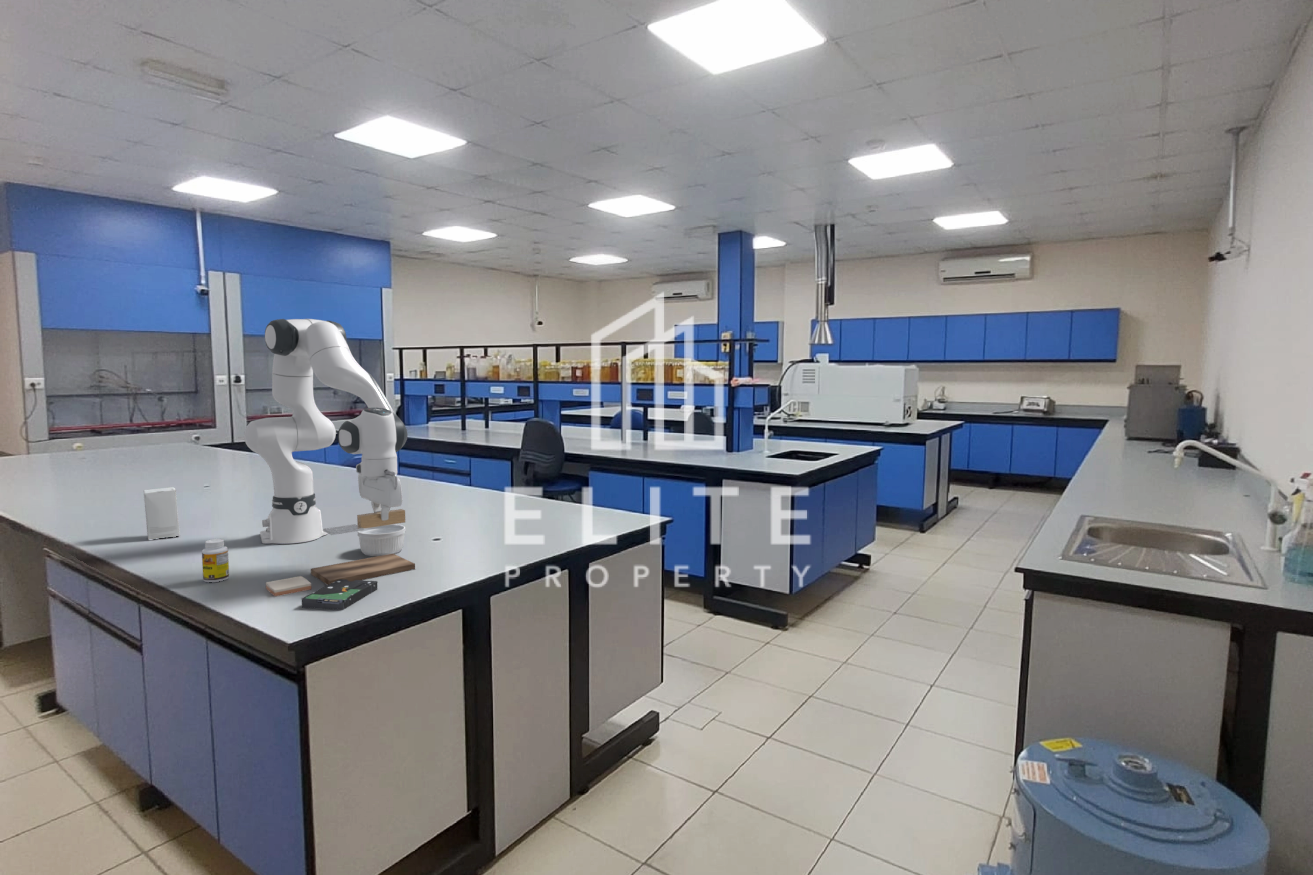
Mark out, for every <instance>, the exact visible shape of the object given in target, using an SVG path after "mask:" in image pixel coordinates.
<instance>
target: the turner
mask: <svg viewBox="0 0 1313 875" xmlns="http://www.w3.org/2000/svg"><path fill="white" fill-rule="evenodd" d="M380 513H381V512H376V513H374V512H371V513H362V514H357V515H356V516H357V519H356V520H357V521H356V522H357V524H347V525H342V526H341V525H340V526H334V527H333V526H332V527H327V528H322V530H323V531H324V532H326V533H327V535H328V534H329V535H330V536H334V535H342V534H348V533H354V532H358V531H362V530H364V529H365V528H372V527H378V526H385V525H391V524H397V525H399V524H403V523H406V509H403V508H399V509H392V510H389V513H388V520H381V519H380Z"/></svg>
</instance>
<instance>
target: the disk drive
mask: <svg viewBox="0 0 1313 875" xmlns="http://www.w3.org/2000/svg"><path fill="white" fill-rule="evenodd" d="M377 590H378V581H377V580H365V579H364V580H355V581H348V580H347V579H339V580H336V581H334V582H333V583H331V584H329V585H327V584H326V585H325V586H323V587H321V588H318V589H317V590H315V591H312V592H311V593H309V594H307V595H306V596H303V597H301V608H303V609H319V610H321V609H322V610H333V611H334V610H335V611H336V610H337V611H345V609H347V608H349V607H351V606H352V605H354V604H356V603H358V602H360V601H361V600H362V599H364V598H366V597H367V596H369V595H371V594H373V593H374V592H376V591H377Z"/></svg>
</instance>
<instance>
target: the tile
mask: <svg viewBox="0 0 1313 875" xmlns="http://www.w3.org/2000/svg"><path fill="white" fill-rule="evenodd" d="M265 589H266V590H267V591H268V592H269V593H271V595H273V597H279V596H284V595H290V594H295V593H299V592H304V591H309V590H312V583H311V582H310V581H309V580H308V579H307V578H305V577H303V576H301V575H299V576H298V575H297V576H294V577H292V576H291V577H289V578H283V579H277V580H272V581H266V582H265Z"/></svg>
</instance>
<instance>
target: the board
mask: <svg viewBox="0 0 1313 875" xmlns="http://www.w3.org/2000/svg"><path fill="white" fill-rule="evenodd" d="M411 569H413V570H416V563H414V562H413V561H410V560H409V559H406V558H403V557H401V556H399V555H397V554H396V553H395V554H388V555H382V556H370V557H366V558H362V559H357V560H351V561H346V562H345V561H344V562H340V563H334V564H329V565H323V566H318V567H313V568H310V575H311V576H313V577H314V578H316V579H317V580H319V581H321V582H322V583H324V584H325V585H326V586H327V585H329V584H331V583H333V582H334V581H336V580H339V579H347V580H348V581H355V580H364V581H365V580H368V579H372V578H379V577H383V576H388V575H393V574H398V573H403V572H408V571H412V570H411Z"/></svg>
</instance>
